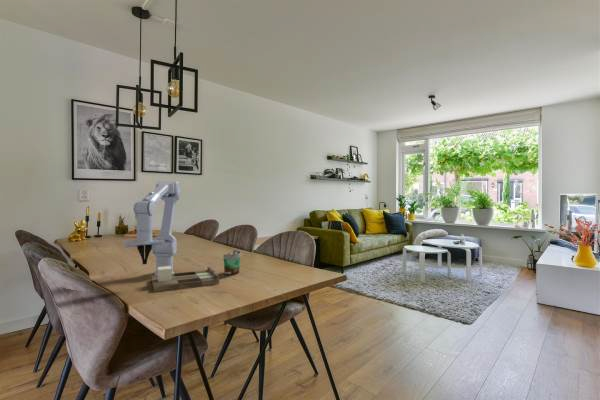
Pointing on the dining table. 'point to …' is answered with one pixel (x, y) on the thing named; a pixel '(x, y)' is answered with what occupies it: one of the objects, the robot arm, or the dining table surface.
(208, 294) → the dining table surface
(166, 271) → the block
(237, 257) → the food container
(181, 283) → the trap deck
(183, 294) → the dining table surface
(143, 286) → the dining table surface
